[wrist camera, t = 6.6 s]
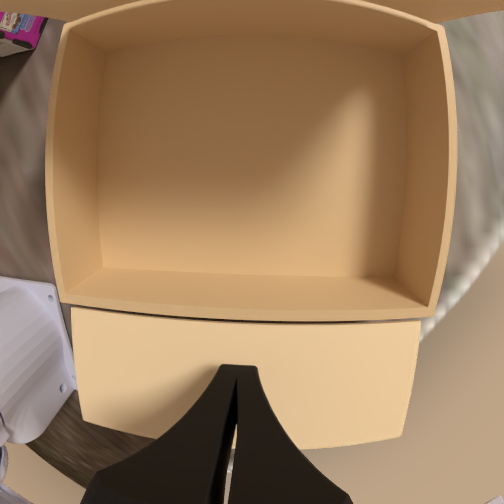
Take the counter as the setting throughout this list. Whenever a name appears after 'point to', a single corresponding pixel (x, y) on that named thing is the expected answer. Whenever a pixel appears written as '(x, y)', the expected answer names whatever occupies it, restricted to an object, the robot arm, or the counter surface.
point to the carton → (252, 160)
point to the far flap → (247, 353)
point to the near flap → (414, 3)
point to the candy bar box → (19, 32)
